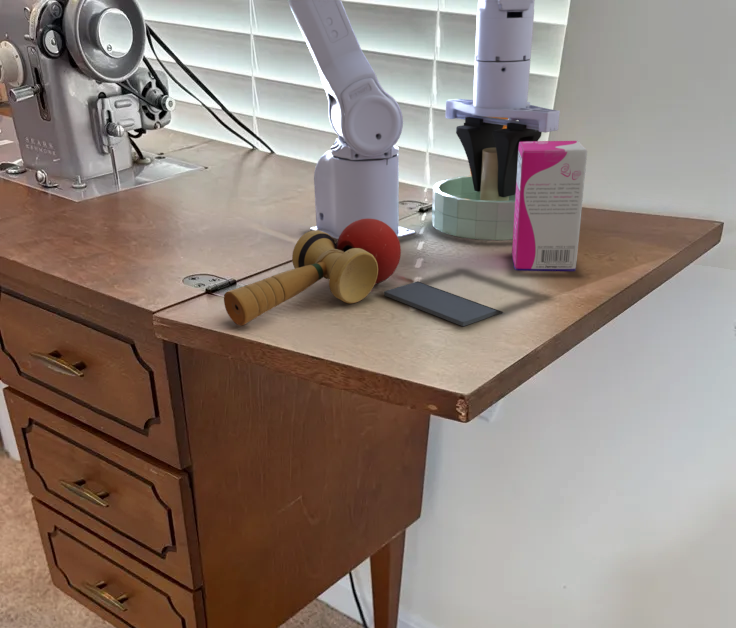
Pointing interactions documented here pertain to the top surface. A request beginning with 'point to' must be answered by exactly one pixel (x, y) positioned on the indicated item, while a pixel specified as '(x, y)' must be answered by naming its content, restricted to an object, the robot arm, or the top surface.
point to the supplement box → (548, 205)
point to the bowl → (470, 211)
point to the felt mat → (441, 303)
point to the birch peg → (490, 176)
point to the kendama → (324, 269)
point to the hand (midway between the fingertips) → (494, 192)
